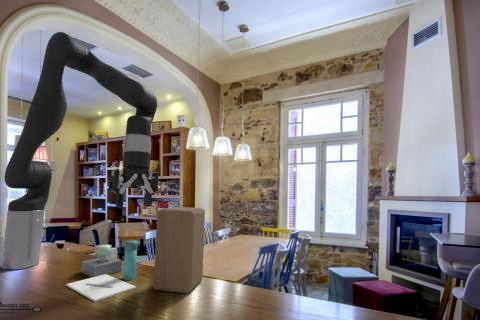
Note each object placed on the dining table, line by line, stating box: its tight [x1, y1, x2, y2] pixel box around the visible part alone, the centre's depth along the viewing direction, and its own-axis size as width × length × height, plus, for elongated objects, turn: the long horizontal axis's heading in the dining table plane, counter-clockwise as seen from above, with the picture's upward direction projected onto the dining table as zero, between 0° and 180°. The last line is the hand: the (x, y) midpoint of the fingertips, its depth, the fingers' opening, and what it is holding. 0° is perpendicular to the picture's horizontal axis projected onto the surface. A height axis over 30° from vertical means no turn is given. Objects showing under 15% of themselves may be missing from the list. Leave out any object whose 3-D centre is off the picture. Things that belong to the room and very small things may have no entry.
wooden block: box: [152, 206, 206, 294], centre depth 68 cm, size 10×10×20 cm
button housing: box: [80, 255, 123, 278], centre depth 77 cm, size 8×8×3 cm
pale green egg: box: [94, 244, 112, 263], centre depth 77 cm, size 4×4×6 cm
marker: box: [122, 239, 139, 281], centre depth 72 cm, size 3×3×10 cm
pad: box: [66, 274, 137, 302], centre depth 65 cm, size 15×10×1 cm, turn 55°
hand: (133, 207), depth 74 cm, fingers open, 8 cm apart
